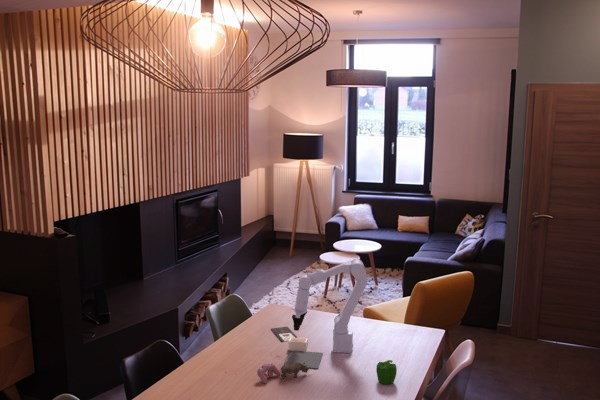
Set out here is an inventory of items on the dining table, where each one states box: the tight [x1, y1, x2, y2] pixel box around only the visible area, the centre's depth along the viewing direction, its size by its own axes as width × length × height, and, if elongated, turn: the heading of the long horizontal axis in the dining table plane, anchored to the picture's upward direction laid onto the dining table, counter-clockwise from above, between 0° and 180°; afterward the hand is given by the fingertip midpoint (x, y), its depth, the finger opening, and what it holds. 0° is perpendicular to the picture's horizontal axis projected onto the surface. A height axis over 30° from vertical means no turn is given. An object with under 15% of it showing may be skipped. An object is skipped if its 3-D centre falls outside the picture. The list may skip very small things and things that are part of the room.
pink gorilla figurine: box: [256, 362, 282, 384], centre depth 237 cm, size 10×5×7 cm, turn 141°
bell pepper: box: [375, 359, 398, 386], centre depth 234 cm, size 8×8×10 cm
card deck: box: [287, 337, 309, 351], centre depth 269 cm, size 8×5×5 cm, turn 80°
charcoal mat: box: [284, 350, 324, 370], centre depth 256 cm, size 15×17×1 cm
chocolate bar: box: [270, 326, 299, 343], centre depth 287 cm, size 9×1×18 cm
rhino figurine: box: [280, 362, 311, 381], centre depth 239 cm, size 4×14×6 cm, turn 111°
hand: (297, 327), depth 268 cm, fingers open, 7 cm apart
